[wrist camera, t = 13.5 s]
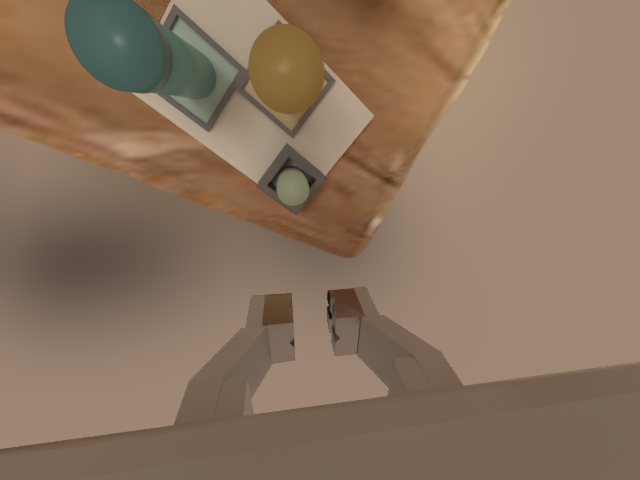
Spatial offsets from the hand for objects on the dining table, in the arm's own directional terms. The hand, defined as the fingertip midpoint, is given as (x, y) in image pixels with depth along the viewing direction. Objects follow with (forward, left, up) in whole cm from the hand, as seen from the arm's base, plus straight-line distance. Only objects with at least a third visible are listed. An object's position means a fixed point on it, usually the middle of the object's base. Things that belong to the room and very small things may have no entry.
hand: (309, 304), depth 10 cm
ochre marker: (-7, -6, -22) cm, 23 cm away
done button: (0, 0, -20) cm, 20 cm away
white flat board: (-4, -7, -23) cm, 24 cm away
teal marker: (-2, -13, -22) cm, 25 cm away
